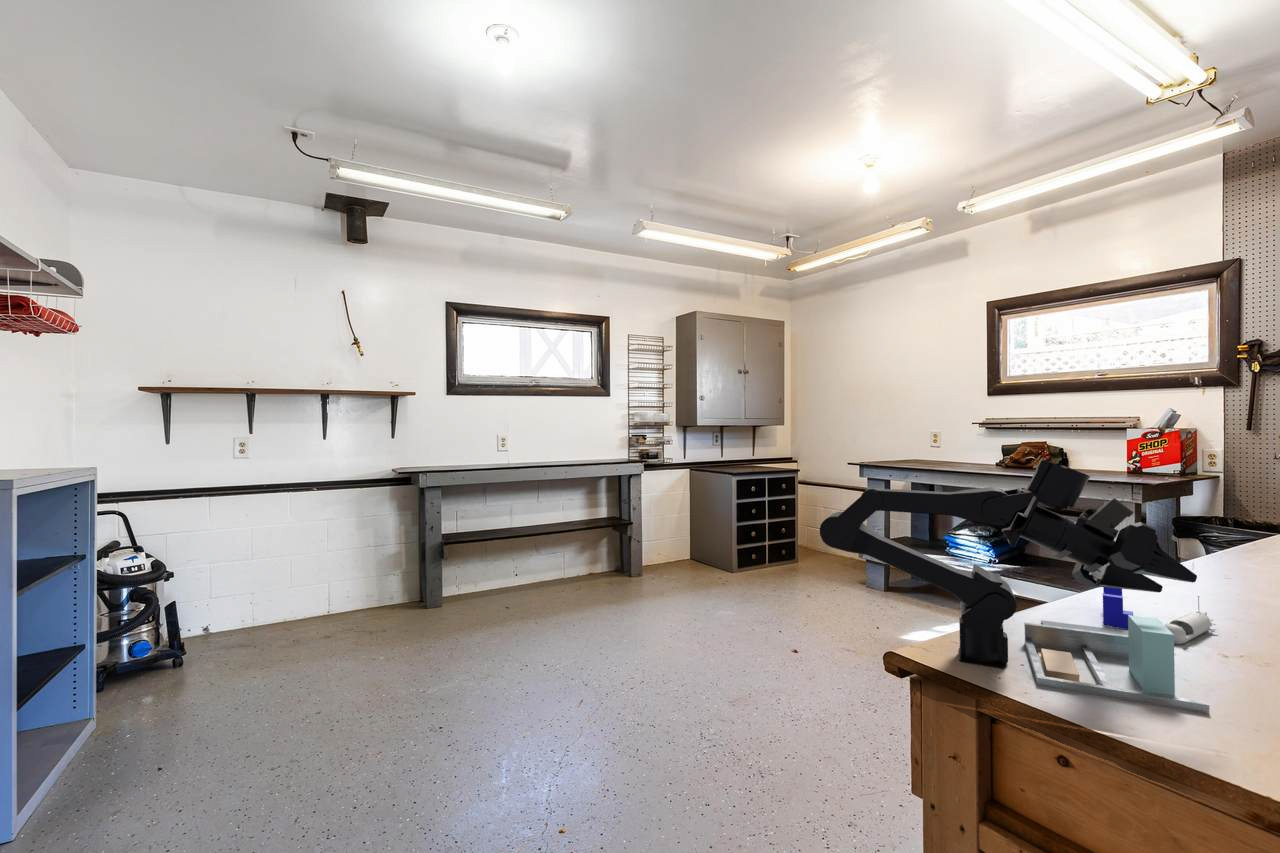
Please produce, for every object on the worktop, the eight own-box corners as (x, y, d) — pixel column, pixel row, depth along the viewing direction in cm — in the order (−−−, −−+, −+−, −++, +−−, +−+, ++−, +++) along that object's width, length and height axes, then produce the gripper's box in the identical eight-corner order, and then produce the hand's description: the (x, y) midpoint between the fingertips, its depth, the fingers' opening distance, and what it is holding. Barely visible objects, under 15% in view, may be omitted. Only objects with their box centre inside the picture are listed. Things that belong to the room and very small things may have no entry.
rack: (1037, 687, 87) (1037, 660, 87) (1024, 644, 103) (1024, 622, 103) (1209, 716, 78) (1208, 686, 78) (1164, 664, 94) (1164, 639, 94)
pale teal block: (1143, 692, 85) (1142, 631, 85) (1129, 672, 92) (1128, 615, 92) (1174, 697, 83) (1173, 634, 83) (1157, 676, 90) (1157, 618, 90)
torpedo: (1189, 650, 100) (1188, 612, 100) (1154, 642, 104) (1153, 605, 104) (1223, 630, 110) (1222, 595, 110) (1190, 623, 114) (1189, 590, 114)
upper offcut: (1046, 677, 89) (1046, 669, 89) (1041, 655, 98) (1041, 648, 98) (1079, 683, 87) (1079, 675, 87) (1070, 660, 96) (1070, 652, 96)
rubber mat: (1051, 646, 102) (1051, 644, 102) (1041, 622, 115) (1041, 620, 115) (1155, 661, 96) (1154, 658, 96) (1132, 634, 108) (1132, 631, 108)
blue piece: (1133, 631, 110) (1133, 599, 110) (1103, 626, 113) (1102, 595, 113) (1132, 614, 119) (1131, 585, 119) (1103, 610, 122) (1103, 582, 122)
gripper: (1101, 471, 86) (1234, 520, 79) (1055, 506, 102) (1162, 550, 95) (1074, 537, 83) (1209, 593, 76) (1032, 562, 99) (1139, 611, 93)
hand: (1177, 584), depth 85 cm, fingers open, 9 cm apart
